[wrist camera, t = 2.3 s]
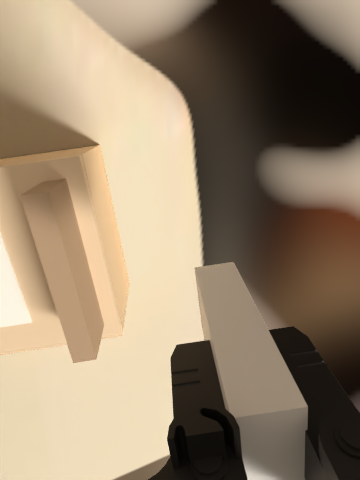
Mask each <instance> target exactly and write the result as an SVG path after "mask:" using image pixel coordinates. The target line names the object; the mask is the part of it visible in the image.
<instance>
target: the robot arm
mask: <svg viewBox="0 0 360 480" xmlns="http://www.w3.org/2000/svg"><path fill="white" fill-rule="evenodd" d="M195 274H196V282H197V290H198V298H199V306H200V314H201V322H202V328H203V333H204V338H205V341H200V342H193V343H186V344H179V345H177V346H176V348H175V350H174V352H173V354H172V356H171V374H172V395H173V414H174V419H173V421H172V423H171V424H170V426H169V431H168V437H167V441H168V446H169V451H170V455H171V456H170V458H169V460H168V461H167V463H166V465H165V466H164V467H163V468H162V469H161V470H160V472H158V473H157V474H156V475H154V476H153V477H151V478H150V479H148V480H360V413H359V411H358V410H357V409H356V407H355V406H354V404H353V403H352V401H351V400H350V399H349V397H348V395H347V394H346V393H345V391H344V390H343V388H342V387H341V385H340V384H339V382H338V381H337V379H336V378H335V376H334V375H333V373H332V372H331V371H330V369H329V368H328V366H327V364H325V363H324V360H323V359H322V357H321V356H320V354H319V353H318V352H317V350H316V348H315V347H314V345H313V344H312V342H311V341H310V339H309V338H308V337H307V336H306V335H305V334H303V333H302V332H300V331H299V330H298V329H296V328H294V327H286V328H279V329H273V330H268V328H267V326H266V324H265V323H264V320H263V318H262V317H261V315H260V313H259V311H258V309H257V307H256V305H255V303H254V301H253V299H252V297H251V295H250V293H249V291H248V289H247V287H246V285H245V284H244V282H243V280H242V278H241V276H240V274H239V272H238V270H237V268H236V267H235V264H234V262H230V263H224V264H216V265H210V266H203V267H196V268H195Z"/></svg>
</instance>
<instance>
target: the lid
mask: <svg viewBox="0 0 360 480" xmlns="http://www.w3.org/2000/svg"><path fill="white" fill-rule="evenodd" d="M122 333H123V328H122V324H121V319H120V315H119V311H118V307H117V302H116V298H115V294H114V290H113V285H112V281H111V277H110V273H109V269H108V264H107V260H106V256H105V252H104V247H103V243H102V239H101V235H100V230H99V226H98V222H97V218H96V213H95V209H94V205H93V201H92V196H91V192H90V188H89V184H88V180H87V175H86V171H85V167H84V163H83V158H82V155H76V156H69V157H62V158H54V159H47V160H40V161H33V162H26V163H19V164H12V165H5V166H0V355H3V354H10V353H16V352H22V351H29V350H35V349H41V348H48V347H54V346H61V345H68V348H69V351H70V354H71V357H72V360H73V363H76V362H83V361H89V360H95V359H96V358H97V354H98V350H99V345H100V341H101V339H105V338H111V337H118V336H122Z"/></svg>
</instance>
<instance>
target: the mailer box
mask: <svg viewBox="0 0 360 480" xmlns="http://www.w3.org/2000/svg"><path fill="white" fill-rule="evenodd" d="M76 155H82V158H83V163H84V167H85V171H86V175H87V180H88V184H89V188H90V192H91V196H92V201H93V205H94V209H95V213H96V218H97V222H98V226H99V230H100V235H101V239H102V243H103V247H104V252H105V256H106V260H107V264H108V269H109V273H110V277H111V281H112V285H113V290H114V294H115V298H116V302H117V307H118V311H119V315H120V319H121V324H122V328H123V326H124V319H125V312H126V305H127V298H128V291H129V279H128V274H127V270H126V265H125V260H124V256H123V251H122V246H121V242H120V237H119V232H118V228H117V223H116V218H115V213H114V209H113V204H112V199H111V195H110V190H109V185H108V181H107V176H106V171H105V167H104V162H103V157H102V153H101V148H100V145H96V146H88V147H81V148H74V149H67V150H60V151H53V152H46V153H39V154H32V155H25V156H18V157H11V158H4V159H0V166H5V165H12V164H19V163H26V162H33V161H40V160H47V159H54V158H62V157H69V156H76Z"/></svg>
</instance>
